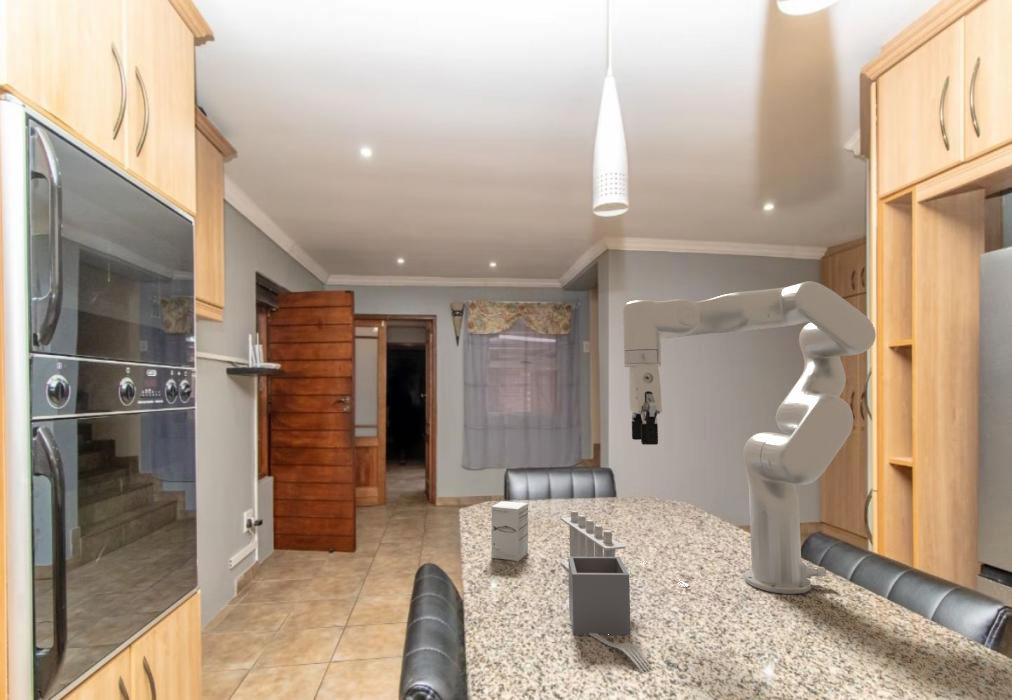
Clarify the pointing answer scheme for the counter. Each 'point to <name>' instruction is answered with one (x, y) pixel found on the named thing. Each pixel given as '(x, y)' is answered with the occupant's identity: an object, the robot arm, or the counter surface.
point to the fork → (624, 647)
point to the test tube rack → (589, 539)
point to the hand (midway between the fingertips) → (644, 441)
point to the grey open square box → (599, 596)
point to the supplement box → (509, 530)
